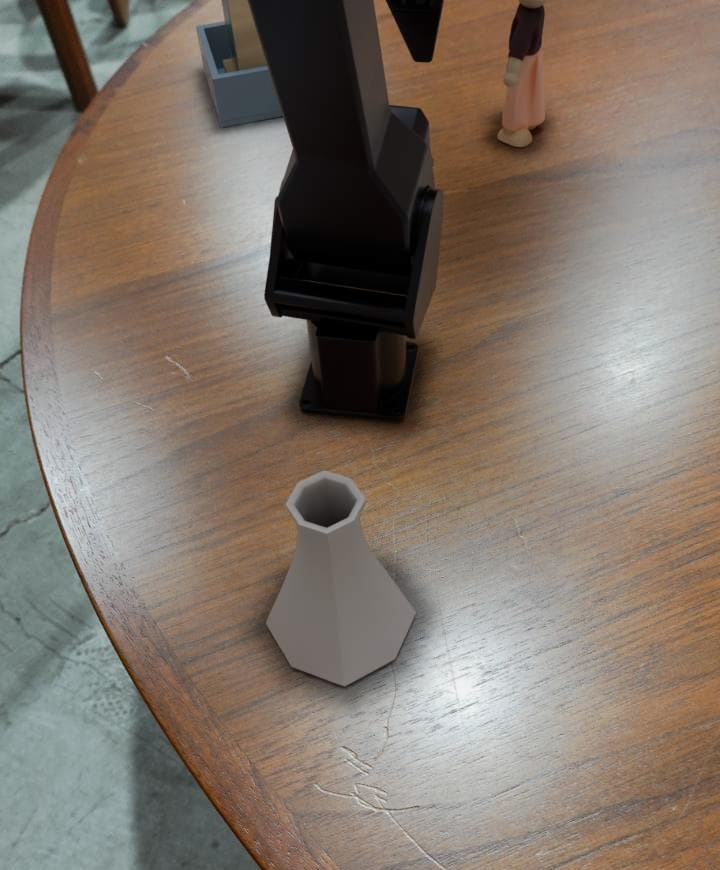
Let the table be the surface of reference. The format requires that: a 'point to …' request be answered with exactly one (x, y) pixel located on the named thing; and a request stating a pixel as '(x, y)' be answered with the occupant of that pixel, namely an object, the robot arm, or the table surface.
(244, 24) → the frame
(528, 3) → the grandmother figurine
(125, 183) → the table surface
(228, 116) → the holder
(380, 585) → the flask
